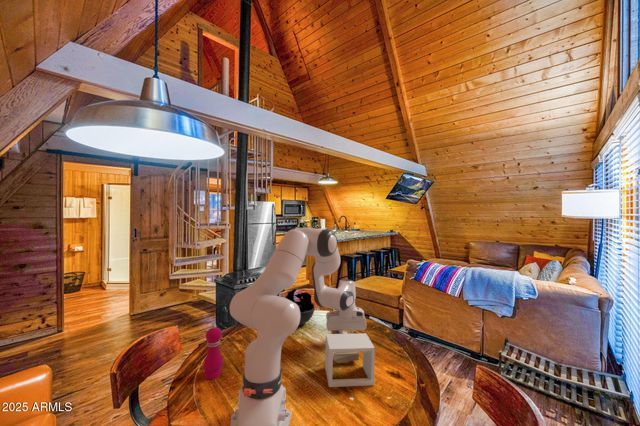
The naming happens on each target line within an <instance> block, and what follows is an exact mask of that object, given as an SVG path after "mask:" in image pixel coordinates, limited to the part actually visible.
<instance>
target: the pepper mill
mask: <svg viewBox="0 0 640 426" xmlns="http://www.w3.org/2000/svg"><path fill="white" fill-rule="evenodd" d="M222 335H223V333H222V329H221V328H219V327H217V324H212V325H211V328H209V329H208V330H207V331H206V333H205V339H206V346H207V353H206V356H205V358H204V360H203V369H204V378H205V379H206V380H214V379H217V378H219V377H220V376H221V375H222V366H223V363H224V361H223V356H222V354H221V352H220V345H221V338H222Z"/></svg>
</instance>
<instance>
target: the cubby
mask: <svg viewBox="0 0 640 426" xmlns="http://www.w3.org/2000/svg"><path fill="white" fill-rule="evenodd" d="M335 352H362V368H363V370H364V373H365V375H366V378H344V379H343V378H341V379H340V378H339V379H333V371H334V368H333V367H334V366H333V364H334V360H333V353H335ZM324 353H325V354H324V355H325V356H324V357H325V360H324V361H325V362H324V366H325V367H324V368H325V376H326V379H327V383H328V387H329V388H340V387H360V386H361V387H362V386H363V387H364V386H366V387H367V386H375V362H376V361H375V360H376V359H375V358H376V357H375V356H376V349H375V346H374V344H373V342H372V341H371V338H370V337H369V336H368V334H367V333H353V334H350V333H348V334H340V333H326V334H325V352H324Z"/></svg>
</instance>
